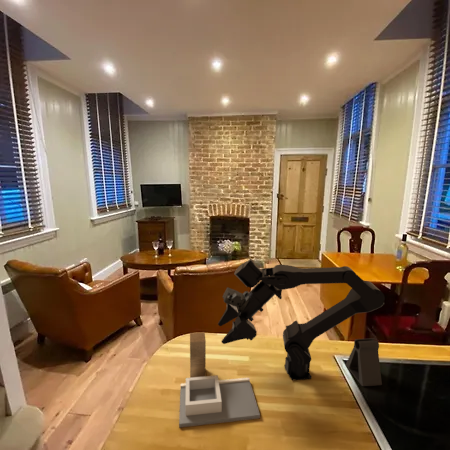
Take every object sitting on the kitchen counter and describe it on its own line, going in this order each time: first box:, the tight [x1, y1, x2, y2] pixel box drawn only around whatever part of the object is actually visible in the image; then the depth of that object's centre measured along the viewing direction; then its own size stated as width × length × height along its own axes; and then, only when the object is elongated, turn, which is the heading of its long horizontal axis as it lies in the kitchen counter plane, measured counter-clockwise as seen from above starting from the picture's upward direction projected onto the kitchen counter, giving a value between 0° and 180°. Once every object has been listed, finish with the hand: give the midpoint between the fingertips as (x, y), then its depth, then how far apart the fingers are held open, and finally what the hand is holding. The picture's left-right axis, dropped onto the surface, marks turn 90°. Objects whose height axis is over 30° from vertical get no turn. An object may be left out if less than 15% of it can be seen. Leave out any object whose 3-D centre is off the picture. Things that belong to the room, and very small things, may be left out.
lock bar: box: [189, 331, 207, 378], centre depth 79 cm, size 4×4×12 cm
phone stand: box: [345, 338, 383, 387], centre depth 79 cm, size 9×6×12 cm, turn 5°
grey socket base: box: [178, 374, 261, 428], centre depth 69 cm, size 20×12×4 cm, turn 98°
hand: (220, 333), depth 78 cm, fingers open, 9 cm apart
